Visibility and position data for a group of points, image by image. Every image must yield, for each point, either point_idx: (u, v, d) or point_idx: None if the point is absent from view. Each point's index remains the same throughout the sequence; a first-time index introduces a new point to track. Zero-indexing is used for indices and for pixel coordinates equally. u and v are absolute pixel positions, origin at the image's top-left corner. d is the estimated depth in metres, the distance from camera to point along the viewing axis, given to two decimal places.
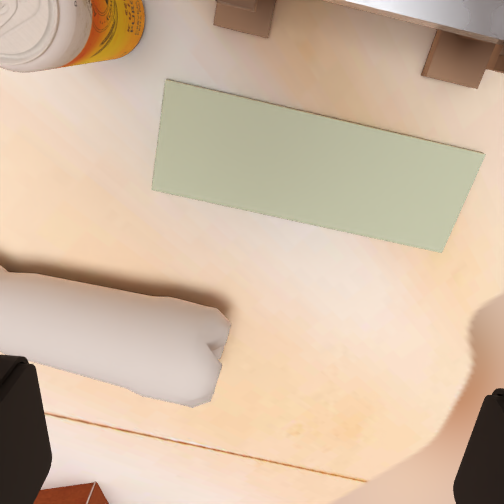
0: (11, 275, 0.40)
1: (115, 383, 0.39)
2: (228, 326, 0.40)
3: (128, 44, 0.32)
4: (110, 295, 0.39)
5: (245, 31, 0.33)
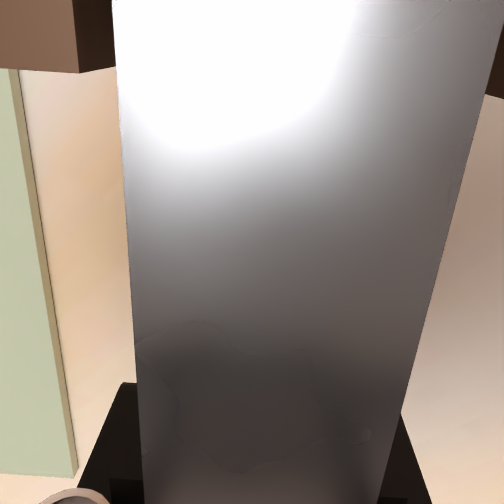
0: None
1: None
2: None
3: None
4: None
5: None
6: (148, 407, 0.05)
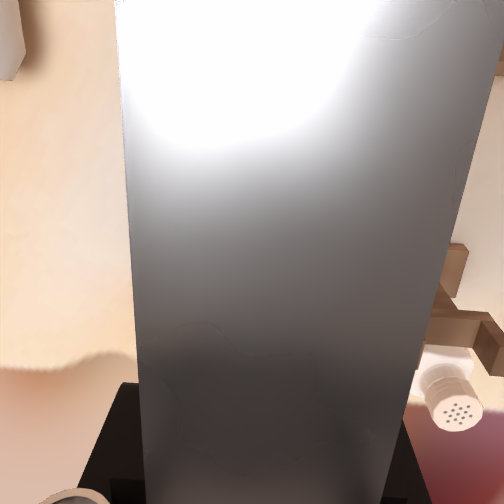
0: None
1: None
2: (9, 77, 0.27)
3: None
4: None
5: None
6: (149, 409, 0.05)
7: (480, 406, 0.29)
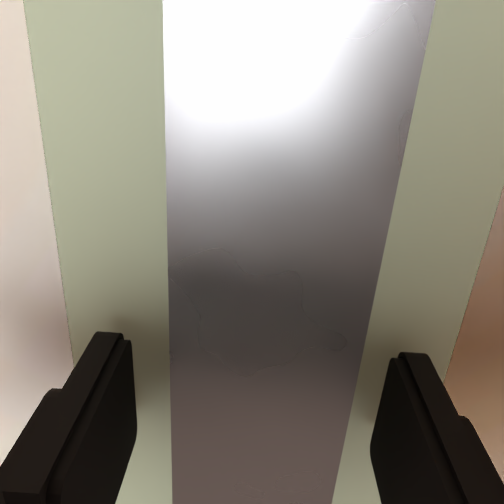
0: None
1: None
2: None
3: None
4: None
5: None
6: (175, 320, 0.07)
7: None
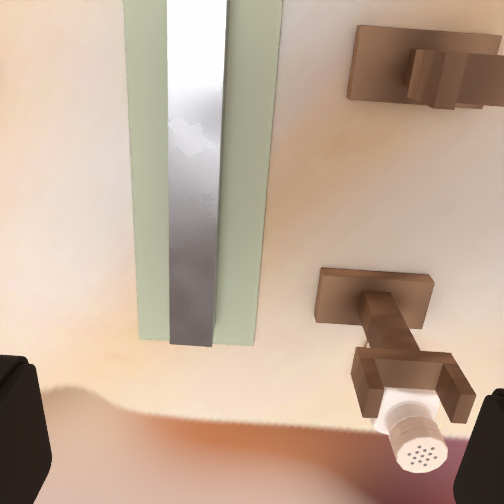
0: None
1: None
2: None
3: None
4: None
5: (355, 69, 0.27)
6: (170, 138, 0.26)
7: (444, 448, 0.28)
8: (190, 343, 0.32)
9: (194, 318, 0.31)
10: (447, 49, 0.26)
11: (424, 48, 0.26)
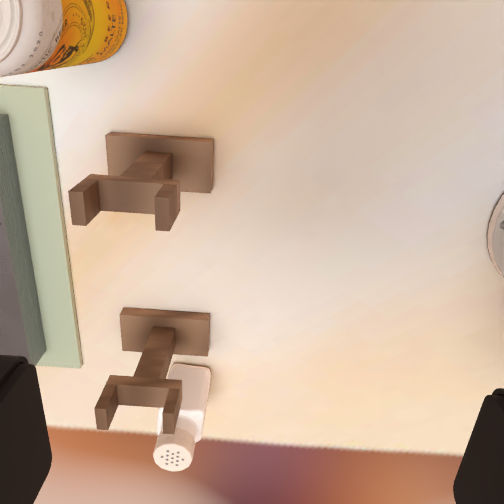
0: None
1: None
2: None
3: None
4: None
5: (108, 165, 0.35)
6: None
7: (187, 452, 0.37)
8: None
9: (13, 349, 0.40)
10: (173, 151, 0.34)
11: (155, 151, 0.35)
